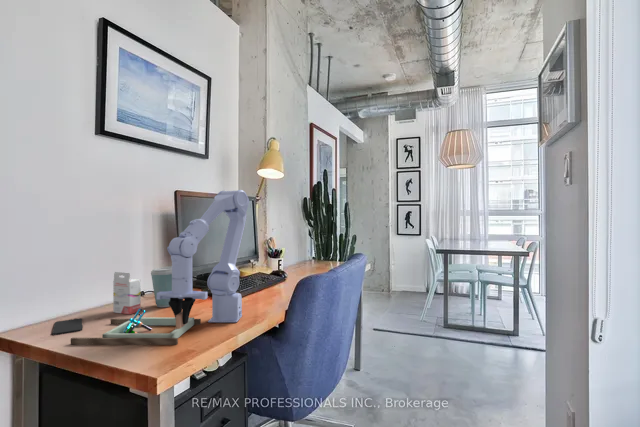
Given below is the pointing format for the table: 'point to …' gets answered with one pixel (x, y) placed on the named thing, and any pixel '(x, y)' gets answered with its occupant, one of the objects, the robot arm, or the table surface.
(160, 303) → the disposable coffee cup
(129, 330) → the stick construction toy
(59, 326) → the phone
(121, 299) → the ink cartridge box
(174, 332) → the open rectangular frame
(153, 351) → the table surface
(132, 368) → the table surface
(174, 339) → the guide rails
